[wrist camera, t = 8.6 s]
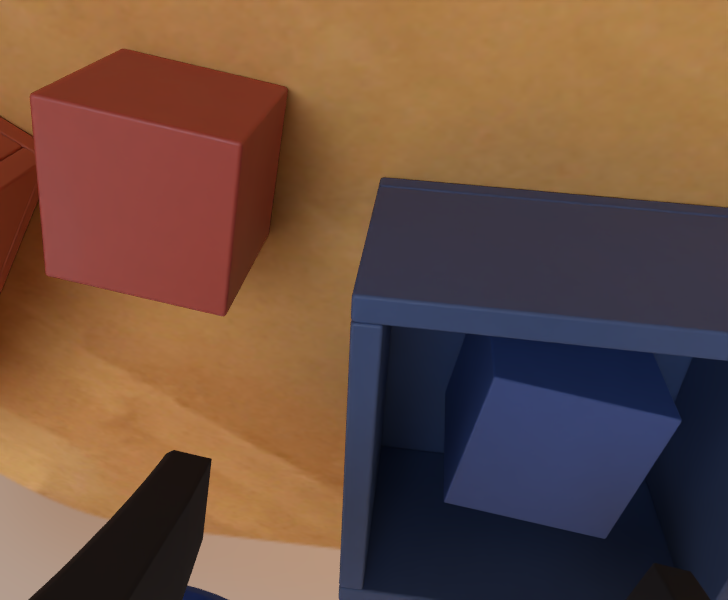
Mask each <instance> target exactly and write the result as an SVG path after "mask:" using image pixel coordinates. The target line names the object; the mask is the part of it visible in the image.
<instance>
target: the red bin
mask: <svg viewBox="0 0 728 600" xmlns="http://www.w3.org/2000/svg"><path fill="white" fill-rule="evenodd" d="M38 199H39V195H38V183H37V172H36V160H35V149H34V138H33V137H32V136H30V135H29V134H27V133H25V132H24V131H22V130H21V129H19V128H17V127H16V126H14V125H12V124H11V123H9V122H7V121H6V120H4V119H3V118H1V117H0V293H1V291H2V288H3V286H4V283H5V281H6V278H7V276H8V273H9V271H10V268H11V266H12V263H13V261H14V258H15V256H16V253H17V251H18V248H19V246H20V243H21V241H22V238H23V236H24V233H25V231H26V228H27V226H28V223H29V221H30V218H31V216H32V213H33V211H34V208H35V206H36V204H37V201H38Z"/></svg>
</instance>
